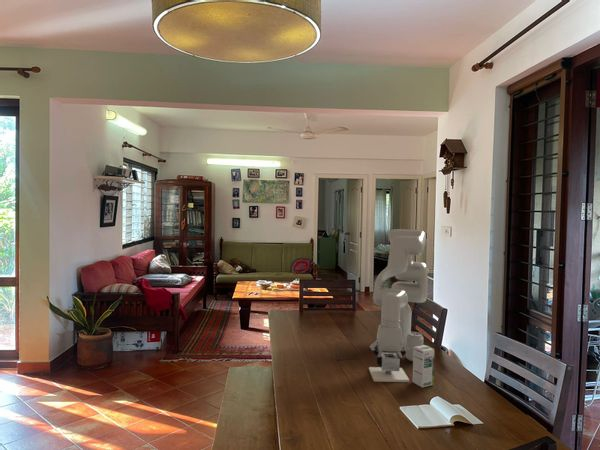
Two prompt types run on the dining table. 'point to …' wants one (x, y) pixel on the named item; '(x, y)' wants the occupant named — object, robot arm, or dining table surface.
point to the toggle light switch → (388, 375)
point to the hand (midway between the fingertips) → (388, 365)
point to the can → (413, 343)
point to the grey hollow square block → (390, 362)
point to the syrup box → (423, 366)
